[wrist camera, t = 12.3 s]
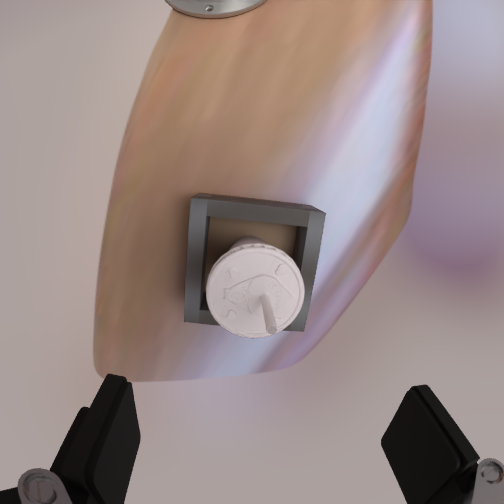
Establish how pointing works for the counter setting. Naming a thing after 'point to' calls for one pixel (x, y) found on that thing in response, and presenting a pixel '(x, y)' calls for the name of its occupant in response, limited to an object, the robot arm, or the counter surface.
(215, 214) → the frame
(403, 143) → the counter surface
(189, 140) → the counter surface
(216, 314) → the smoothie
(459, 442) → the robot arm
